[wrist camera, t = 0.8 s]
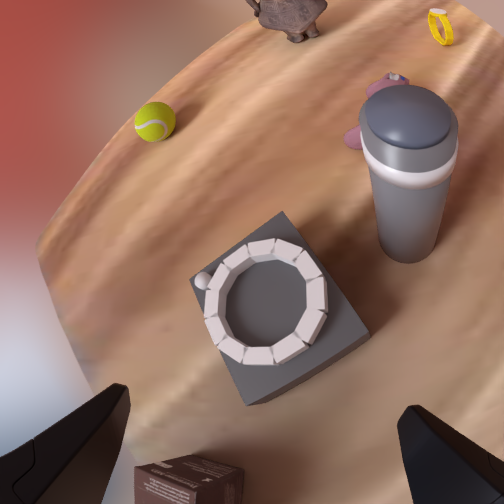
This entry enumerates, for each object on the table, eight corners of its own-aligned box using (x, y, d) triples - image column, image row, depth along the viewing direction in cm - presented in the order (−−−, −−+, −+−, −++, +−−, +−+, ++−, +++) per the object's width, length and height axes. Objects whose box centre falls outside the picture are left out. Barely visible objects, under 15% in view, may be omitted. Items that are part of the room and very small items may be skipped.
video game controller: (377, 167, 28) (403, 131, 21) (338, 146, 28) (356, 105, 22) (398, 109, 29) (420, 73, 23) (365, 91, 30) (382, 52, 23)
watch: (427, 36, 31) (421, 5, 26) (440, 35, 30) (435, 5, 25) (444, 50, 28) (439, 16, 23) (458, 49, 27) (454, 16, 22)
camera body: (371, 337, 21) (367, 328, 17) (264, 403, 22) (238, 407, 18) (295, 229, 27) (277, 203, 23) (210, 290, 29) (181, 274, 25)
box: (246, 468, 20) (197, 492, 14) (241, 521, 18) (194, 552, 12) (188, 453, 22) (132, 464, 16) (186, 502, 20) (133, 521, 14)
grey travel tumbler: (447, 228, 21) (474, 104, 10) (414, 277, 21) (433, 170, 10) (399, 196, 24) (387, 69, 13) (364, 240, 24) (333, 122, 13)
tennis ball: (150, 156, 44) (124, 131, 38) (152, 133, 47) (128, 110, 42) (184, 135, 42) (158, 106, 37) (183, 114, 45) (160, 87, 40)
